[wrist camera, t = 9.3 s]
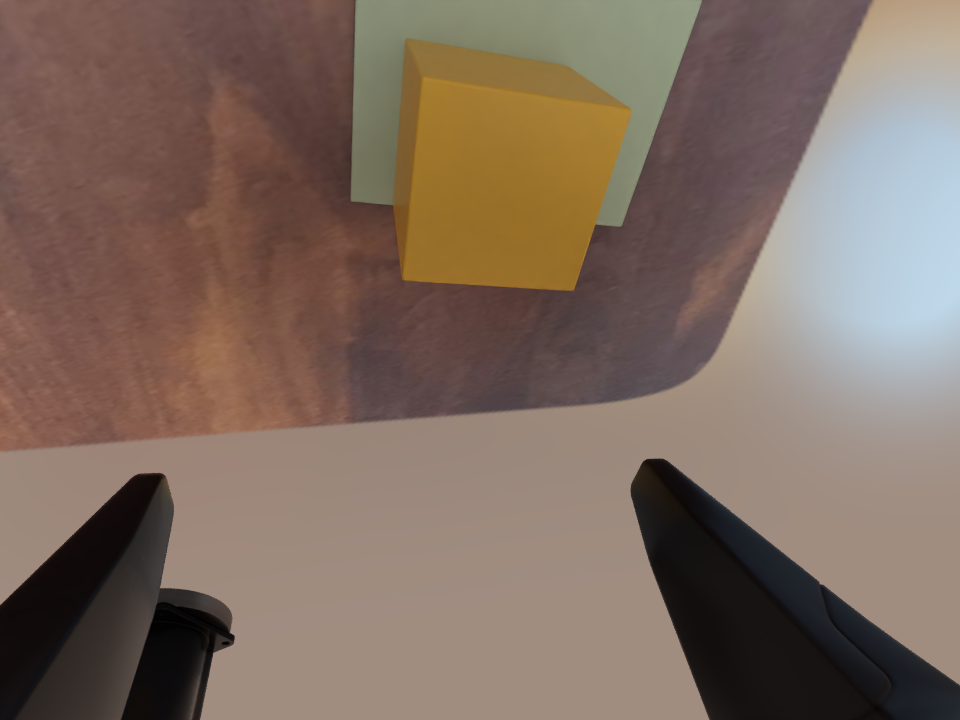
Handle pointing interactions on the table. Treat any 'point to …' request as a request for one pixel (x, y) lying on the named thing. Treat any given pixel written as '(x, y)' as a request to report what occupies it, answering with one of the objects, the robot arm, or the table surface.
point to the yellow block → (499, 167)
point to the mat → (525, 34)
